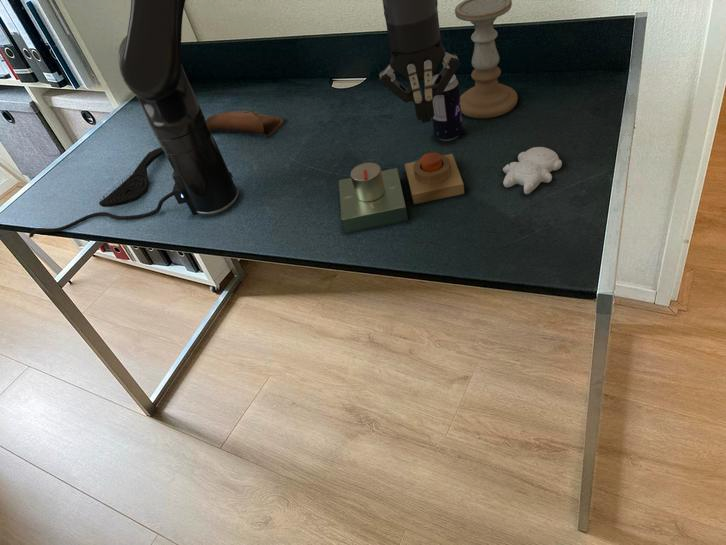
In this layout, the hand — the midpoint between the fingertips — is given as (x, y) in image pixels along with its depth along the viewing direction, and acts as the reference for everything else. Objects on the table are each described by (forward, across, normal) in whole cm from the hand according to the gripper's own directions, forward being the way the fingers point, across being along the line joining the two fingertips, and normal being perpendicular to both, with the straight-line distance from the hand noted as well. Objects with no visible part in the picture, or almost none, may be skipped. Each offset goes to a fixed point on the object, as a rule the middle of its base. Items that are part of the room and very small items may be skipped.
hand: (425, 120), depth 88 cm
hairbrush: (+13, +62, -24) cm, 68 cm away
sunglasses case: (+13, +39, -38) cm, 56 cm away
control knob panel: (+13, +12, +3) cm, 17 cm away
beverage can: (+13, -6, -15) cm, 21 cm away
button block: (+13, 0, 0) cm, 13 cm away
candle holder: (+13, -16, -24) cm, 31 cm away
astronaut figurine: (+13, -16, +3) cm, 21 cm away
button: (+9, 0, 0) cm, 9 cm away
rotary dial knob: (+10, +11, +3) cm, 15 cm away
